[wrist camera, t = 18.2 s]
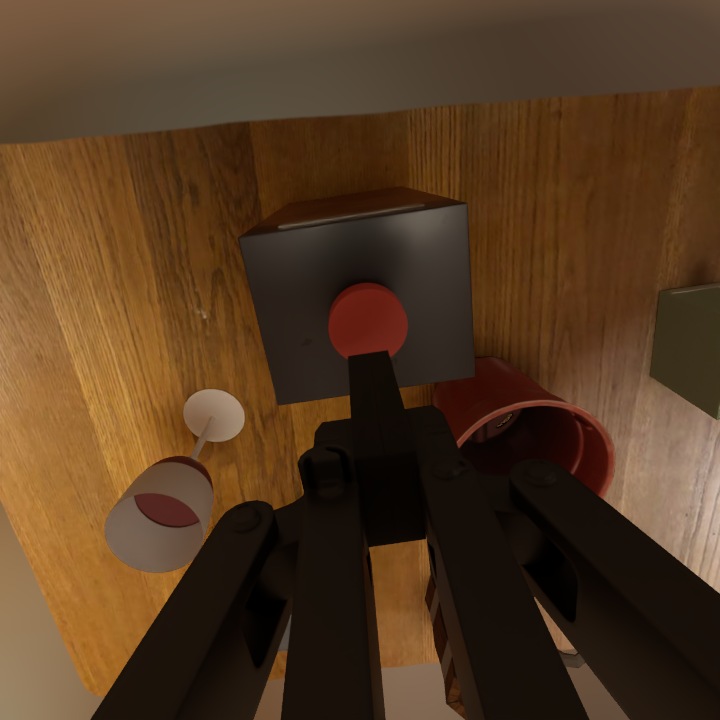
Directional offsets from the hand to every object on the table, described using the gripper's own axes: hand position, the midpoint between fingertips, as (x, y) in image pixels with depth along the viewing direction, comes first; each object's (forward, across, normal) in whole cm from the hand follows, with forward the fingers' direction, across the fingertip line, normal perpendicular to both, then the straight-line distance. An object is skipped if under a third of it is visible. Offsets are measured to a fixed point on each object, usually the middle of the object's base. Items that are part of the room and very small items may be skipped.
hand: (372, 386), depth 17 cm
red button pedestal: (+35, 0, 0) cm, 35 cm away
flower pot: (+35, +13, -21) cm, 43 cm away
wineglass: (+35, -20, -18) cm, 44 cm away
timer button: (+8, 0, 0) cm, 8 cm away
